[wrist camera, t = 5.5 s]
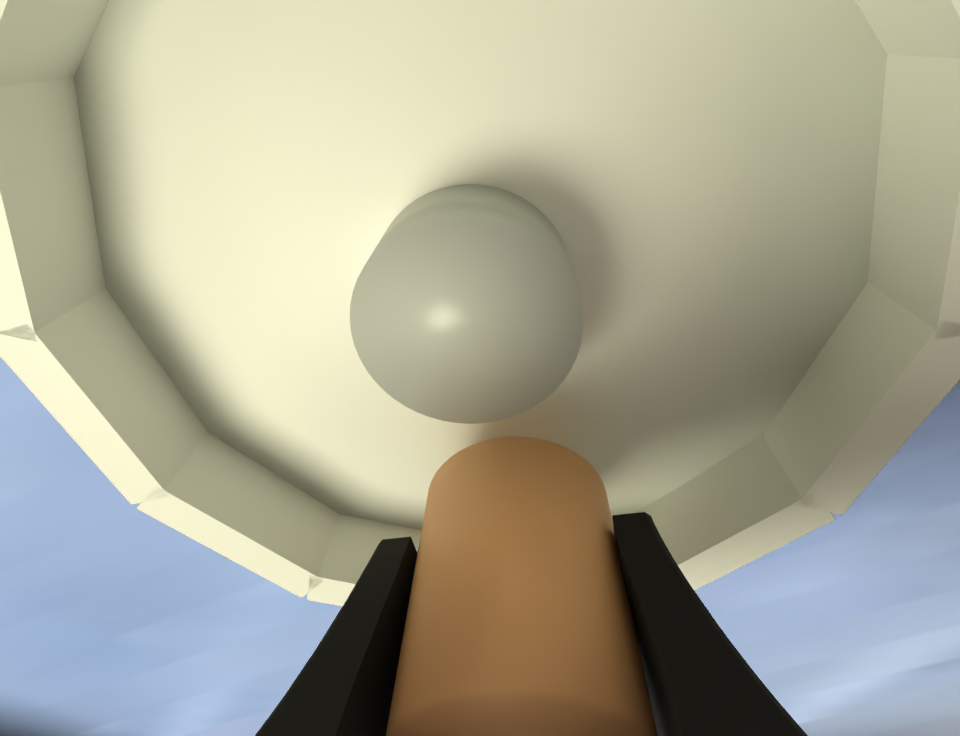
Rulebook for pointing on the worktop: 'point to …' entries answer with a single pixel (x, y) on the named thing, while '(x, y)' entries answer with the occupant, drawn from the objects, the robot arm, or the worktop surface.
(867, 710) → the worktop surface
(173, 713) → the worktop surface
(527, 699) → the bead
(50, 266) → the tray
